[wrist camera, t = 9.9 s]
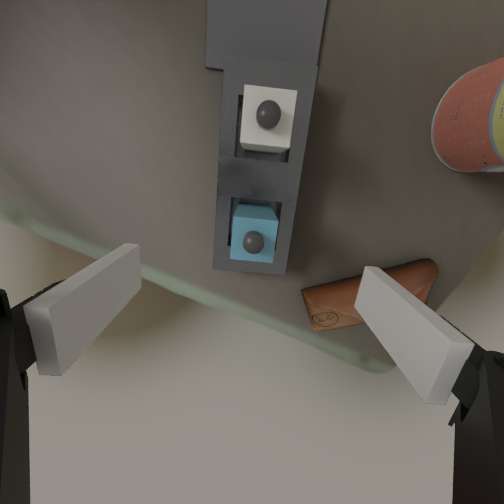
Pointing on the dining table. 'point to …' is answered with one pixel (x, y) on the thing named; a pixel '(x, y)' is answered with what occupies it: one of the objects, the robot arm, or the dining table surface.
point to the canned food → (472, 121)
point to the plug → (253, 233)
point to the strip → (260, 158)
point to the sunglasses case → (345, 293)
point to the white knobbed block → (267, 119)
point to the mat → (264, 30)
